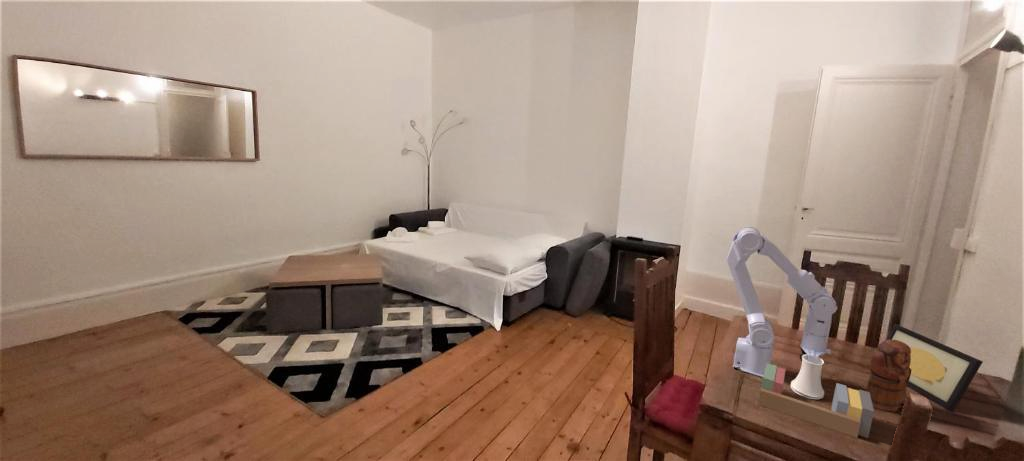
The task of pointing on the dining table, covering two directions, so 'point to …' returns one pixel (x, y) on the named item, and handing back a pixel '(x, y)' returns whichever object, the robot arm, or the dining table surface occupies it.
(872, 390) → the wooden figurine
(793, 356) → the dining table surface
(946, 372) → the picture frame
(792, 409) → the book row
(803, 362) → the vase
